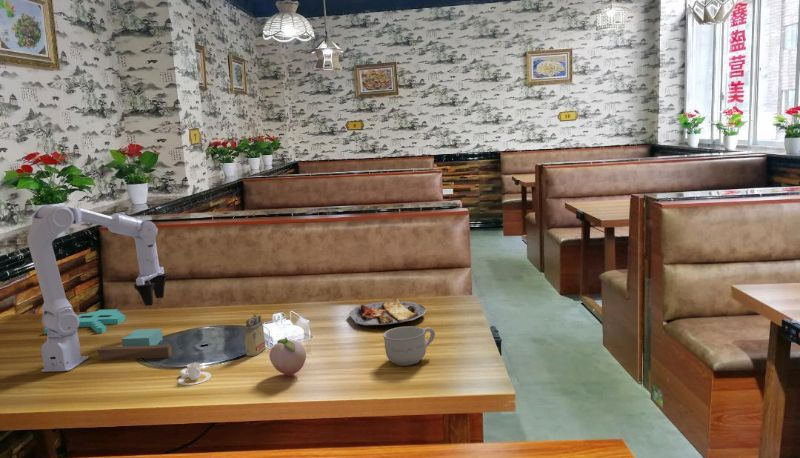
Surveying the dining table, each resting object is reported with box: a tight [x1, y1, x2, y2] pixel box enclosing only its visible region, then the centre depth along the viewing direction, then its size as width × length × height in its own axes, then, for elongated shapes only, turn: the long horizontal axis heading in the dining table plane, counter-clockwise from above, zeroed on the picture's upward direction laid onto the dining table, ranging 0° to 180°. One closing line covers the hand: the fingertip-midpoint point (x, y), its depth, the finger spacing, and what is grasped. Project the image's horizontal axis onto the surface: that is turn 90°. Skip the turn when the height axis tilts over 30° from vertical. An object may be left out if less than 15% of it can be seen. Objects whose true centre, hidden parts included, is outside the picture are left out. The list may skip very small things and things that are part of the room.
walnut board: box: [97, 344, 172, 361], centre depth 166 cm, size 2×20×3 cm, turn 87°
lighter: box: [243, 314, 267, 357], centre depth 164 cm, size 7×4×10 cm, turn 163°
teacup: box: [382, 325, 436, 367], centre depth 151 cm, size 14×11×8 cm
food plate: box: [348, 297, 427, 326], centre depth 188 cm, size 25×23×4 cm
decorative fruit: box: [268, 336, 307, 377], centre depth 146 cm, size 9×8×10 cm
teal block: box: [121, 328, 164, 347], centre depth 175 cm, size 8×8×4 cm
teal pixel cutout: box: [43, 308, 126, 335], centre depth 200 cm, size 20×2×20 cm
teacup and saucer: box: [177, 361, 212, 386], centre depth 149 cm, size 9×8×4 cm
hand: (154, 301), depth 183 cm, fingers open, 7 cm apart
